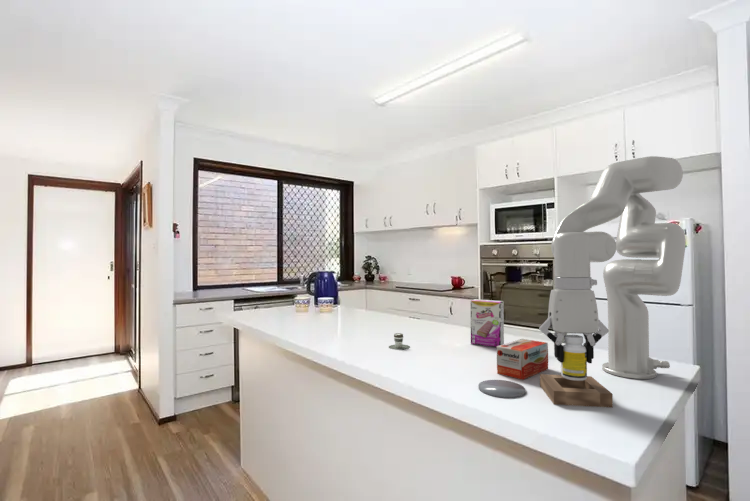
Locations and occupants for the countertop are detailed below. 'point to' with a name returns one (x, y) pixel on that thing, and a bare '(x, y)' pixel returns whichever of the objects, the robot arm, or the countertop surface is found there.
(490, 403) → the countertop surface
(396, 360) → the countertop surface
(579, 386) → the pocket holder
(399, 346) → the sink strainer
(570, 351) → the supplement bottle
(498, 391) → the coaster
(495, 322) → the candy bar box
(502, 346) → the medicine box
